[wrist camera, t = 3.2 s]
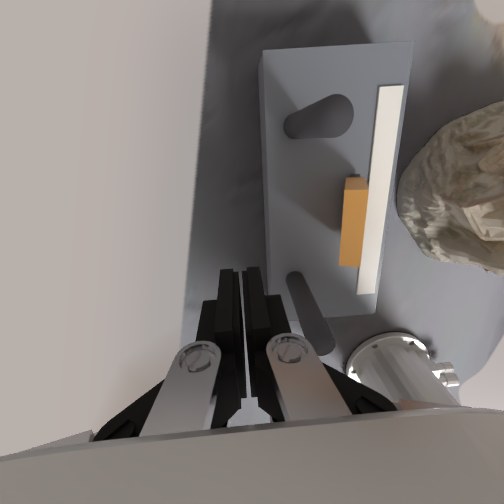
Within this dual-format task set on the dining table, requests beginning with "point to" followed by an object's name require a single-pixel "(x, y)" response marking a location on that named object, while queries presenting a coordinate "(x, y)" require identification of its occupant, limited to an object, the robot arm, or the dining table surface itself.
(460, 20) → the dining table surface
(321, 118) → the dark gray rod
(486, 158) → the beige rock sculpture
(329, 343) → the dark grey cylinder
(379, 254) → the strip
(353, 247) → the wooden plank tile
